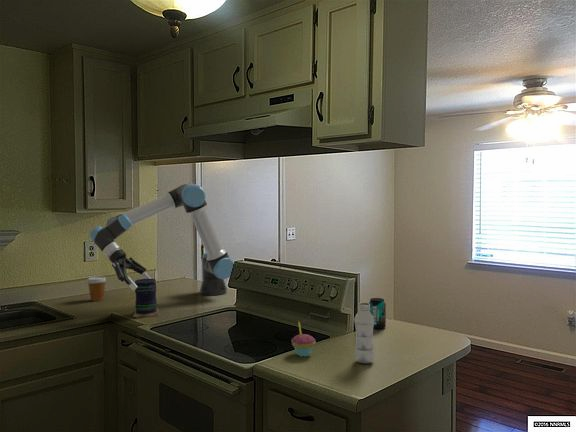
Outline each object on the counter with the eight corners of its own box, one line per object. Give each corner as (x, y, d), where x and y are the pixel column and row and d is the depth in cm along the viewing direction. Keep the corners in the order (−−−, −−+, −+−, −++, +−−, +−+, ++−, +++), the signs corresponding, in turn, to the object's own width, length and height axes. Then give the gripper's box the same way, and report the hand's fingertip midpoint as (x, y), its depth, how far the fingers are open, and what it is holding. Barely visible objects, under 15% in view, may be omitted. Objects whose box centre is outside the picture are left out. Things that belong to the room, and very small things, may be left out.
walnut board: (158, 310, 242) (158, 308, 242) (157, 316, 233) (157, 313, 233) (135, 312, 240) (135, 309, 240) (133, 317, 230) (133, 315, 230)
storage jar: (161, 310, 238) (160, 279, 237) (145, 315, 230) (144, 283, 229) (147, 308, 243) (146, 277, 242) (131, 312, 235) (130, 281, 234)
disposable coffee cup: (107, 301, 265) (106, 278, 264) (87, 302, 262) (87, 280, 261) (106, 297, 274) (105, 275, 273) (87, 299, 270) (87, 277, 270)
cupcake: (287, 355, 176) (286, 322, 176) (300, 348, 183) (299, 316, 183) (307, 360, 171) (307, 325, 171) (320, 353, 179) (319, 320, 178)
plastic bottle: (372, 366, 164) (372, 307, 163) (352, 364, 167) (352, 305, 165) (376, 360, 170) (376, 302, 169) (357, 358, 173) (356, 301, 171)
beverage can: (389, 328, 209) (389, 299, 208) (377, 330, 205) (376, 302, 204) (377, 324, 215) (377, 296, 214) (365, 327, 211) (365, 298, 210)
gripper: (125, 255, 251) (152, 286, 248) (93, 263, 228) (123, 297, 224) (134, 245, 250) (162, 275, 247) (103, 251, 226) (133, 285, 223)
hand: (143, 286), depth 235 cm, fingers open, 13 cm apart
